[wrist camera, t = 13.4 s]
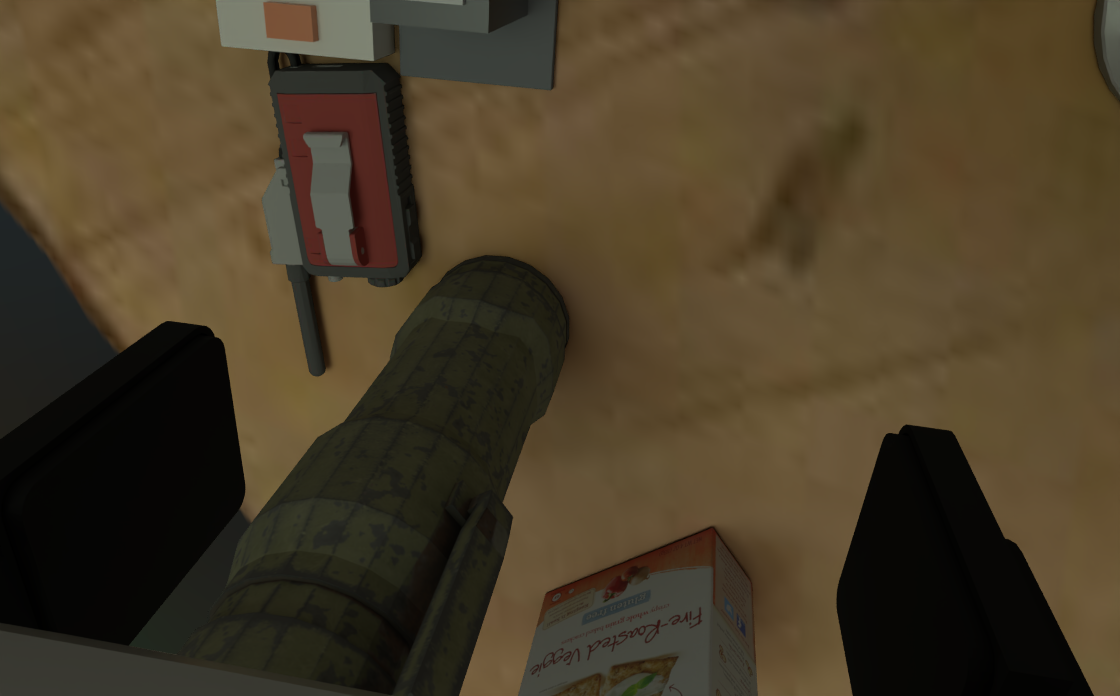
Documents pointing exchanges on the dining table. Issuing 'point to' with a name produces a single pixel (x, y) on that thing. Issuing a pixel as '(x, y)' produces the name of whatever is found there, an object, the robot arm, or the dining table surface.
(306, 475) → the thermos
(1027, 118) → the dining table surface
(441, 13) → the block
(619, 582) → the cracker box
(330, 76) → the walkie-talkie
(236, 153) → the dining table surface
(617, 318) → the dining table surface
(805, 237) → the dining table surface
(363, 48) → the power strip
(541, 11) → the mat
